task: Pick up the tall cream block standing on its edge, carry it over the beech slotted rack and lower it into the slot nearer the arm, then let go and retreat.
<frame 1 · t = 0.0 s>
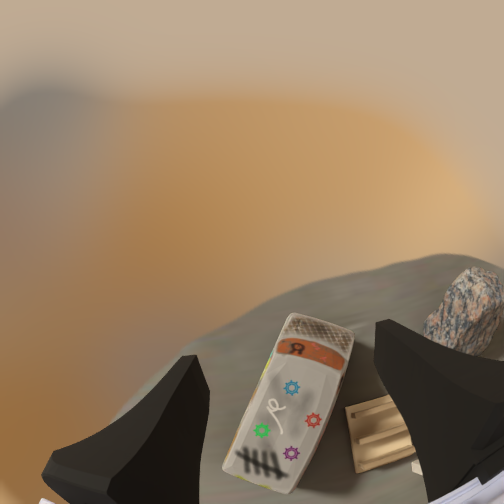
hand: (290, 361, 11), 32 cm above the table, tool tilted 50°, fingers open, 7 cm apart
rack: (379, 432, 32), on the table
stone: (444, 340, 38), on the table
tall cream block: (431, 458, 28), on the table
toy car: (292, 404, 37), on the table
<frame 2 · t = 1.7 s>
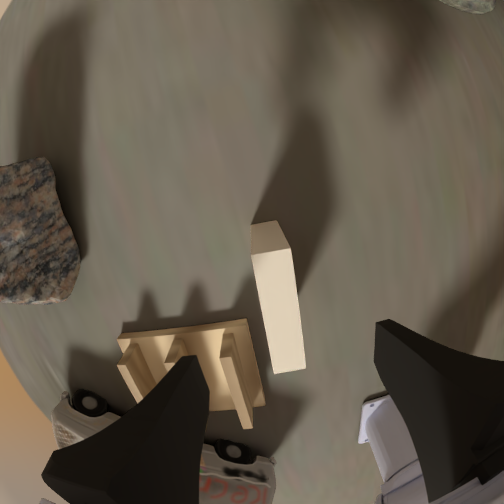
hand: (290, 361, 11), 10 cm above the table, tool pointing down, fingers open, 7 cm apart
rack: (194, 370, 23), on the table
stone: (38, 228, 20), on the table
tall cream block: (271, 270, 21), on the table
toy car: (164, 442, 27), on the table
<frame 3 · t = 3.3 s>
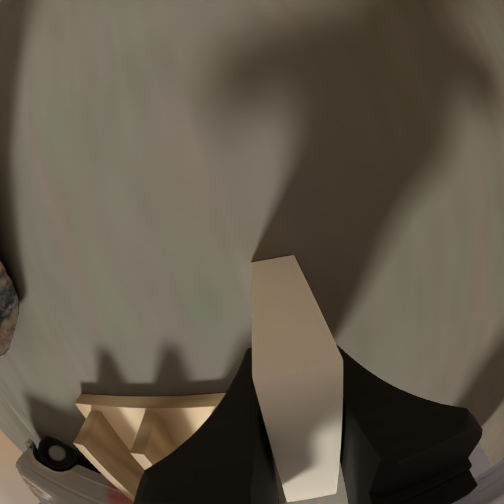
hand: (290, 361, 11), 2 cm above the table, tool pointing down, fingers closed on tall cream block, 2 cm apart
rack: (177, 440, 15), on the table
tall cream block: (283, 329, 13), on the table, touching gripper
toy car: (150, 492, 19), on the table
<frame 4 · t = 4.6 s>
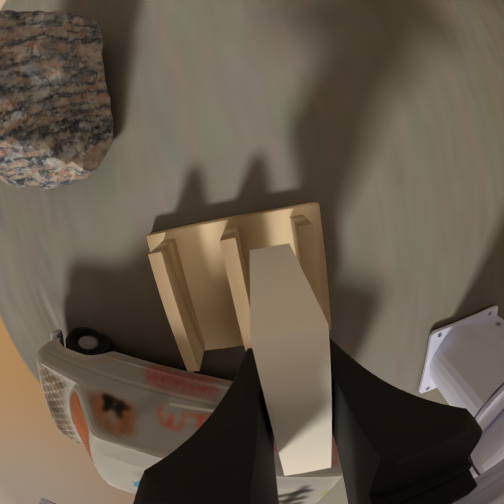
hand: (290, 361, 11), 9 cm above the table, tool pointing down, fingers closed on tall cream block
rack: (243, 281, 19), on the table
stone: (64, 114, 16), on the table
tall cream block: (280, 313, 14), point 6 cm above the table, touching gripper
toy car: (188, 397, 23), on the table
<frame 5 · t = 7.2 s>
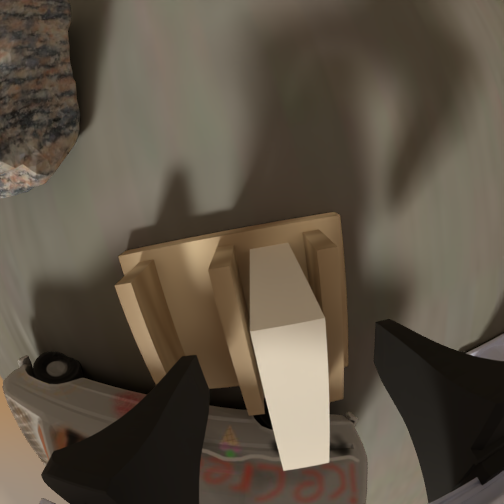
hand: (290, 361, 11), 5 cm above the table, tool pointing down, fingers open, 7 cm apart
rack: (242, 311, 15), on the table
stone: (29, 107, 12), on the table
tall cream block: (280, 311, 14), point 1 cm above the table, touching rack
toy car: (178, 424, 19), on the table
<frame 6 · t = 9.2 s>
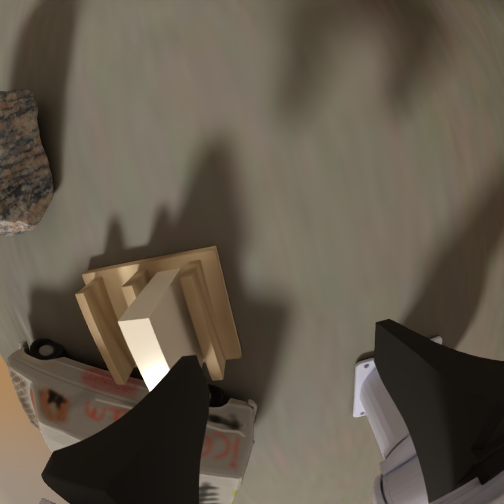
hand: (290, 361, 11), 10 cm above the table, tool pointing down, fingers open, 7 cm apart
rack: (161, 312, 21), on the table
stone: (19, 167, 18), on the table
tall cream block: (181, 314, 20), point 1 cm above the table, touching rack
toy car: (131, 397, 25), on the table
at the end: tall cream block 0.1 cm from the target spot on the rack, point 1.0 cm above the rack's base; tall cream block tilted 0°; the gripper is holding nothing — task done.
